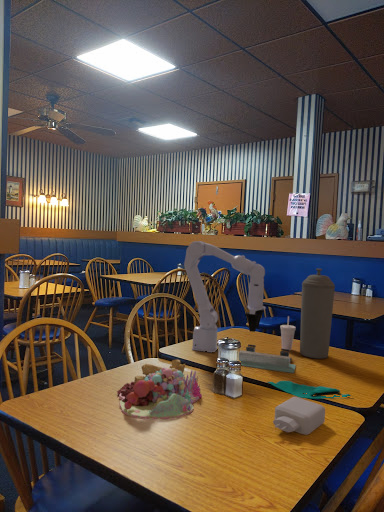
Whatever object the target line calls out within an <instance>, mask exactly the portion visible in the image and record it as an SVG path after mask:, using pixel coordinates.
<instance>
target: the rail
mask: <svg viewBox="0 0 384 512" xmlns="http://www.w3.org/2000/svg"><path fill="white" fill-rule="evenodd" d="M239 351H240V352H238V357H239V360H240V361H241V362H245V363H252V364H259V365H266V366H273V367H280V368H287V369H289V364H291V363H290V358H291V356H289V357H287V356H280V355H279V354H278V355H277V354H271V353H270V354H269V353H264V352H257V351H255V352H250V351H246V350H243V349H240V350H239Z"/></svg>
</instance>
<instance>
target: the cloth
mask: <svg viewBox="0 0 384 512" xmlns="http://www.w3.org/2000/svg"><path fill="white" fill-rule="evenodd" d="M266 382H267V384H270V385H271V386H274V387H275V388H277V389H278V390H282V391H283V392H285V393H288V394H291V395H293V396H294V397H298V398H301V399H314V400H315V399H317V400H318V399H319V400H320V399H322V400H325V399H324V398H331V399H335V398H334V397H340V396H336V395H334V396H333V397H326V396H321V395H322V394H329V393H330V394H331V393H338V392H341V390H340V389H338V388H333V387H327V386H322V385H321V386H318V385H317V386H313V385H312V386H311V385H306V384H303V383H302V384H299V383H296V382H294V381H291V380H279V381H277V382H273V381H266ZM303 393H305V394H303ZM306 393H307V394H306ZM316 393H317V394H316ZM314 394H315V396H313V395H314ZM341 395H342V397H347V396H352V395H351V394H349V393H346V394H341Z"/></svg>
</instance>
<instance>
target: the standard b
mask: <svg viewBox="0 0 384 512" xmlns="http://www.w3.org/2000/svg"><path fill="white" fill-rule="evenodd" d="M279 353H280V356H287V357H290V351H289V349H282V348H281V351H280V352H279ZM292 359H293V358H292V357H290V364H291V362H292Z"/></svg>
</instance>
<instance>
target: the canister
mask: <svg viewBox="0 0 384 512" xmlns="http://www.w3.org/2000/svg"><path fill="white" fill-rule="evenodd" d="M315 271H317V272H316V274H310V275H308V276H307V277H306V279H304V280H303V281H302V283H301V303H300V305H301V306H300V307H301V310H300V333H299V334H300V340H299V341H300V342H299V353H300V355H302V356H304V357H306V358H309V359H318V360H322V359H327V358H328V357H329V354H330V353H329V351H330V342H331V341H330V339H331V330H332V329H331V328H332V319H333V308H334V299H335V298H334V297H335V288H336V286H335V283H334V282H333V281H332V280H331V278H330V277H329V276H328V275H323V274H321V272H322V271H323V269H322V268H316V269H315Z"/></svg>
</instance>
